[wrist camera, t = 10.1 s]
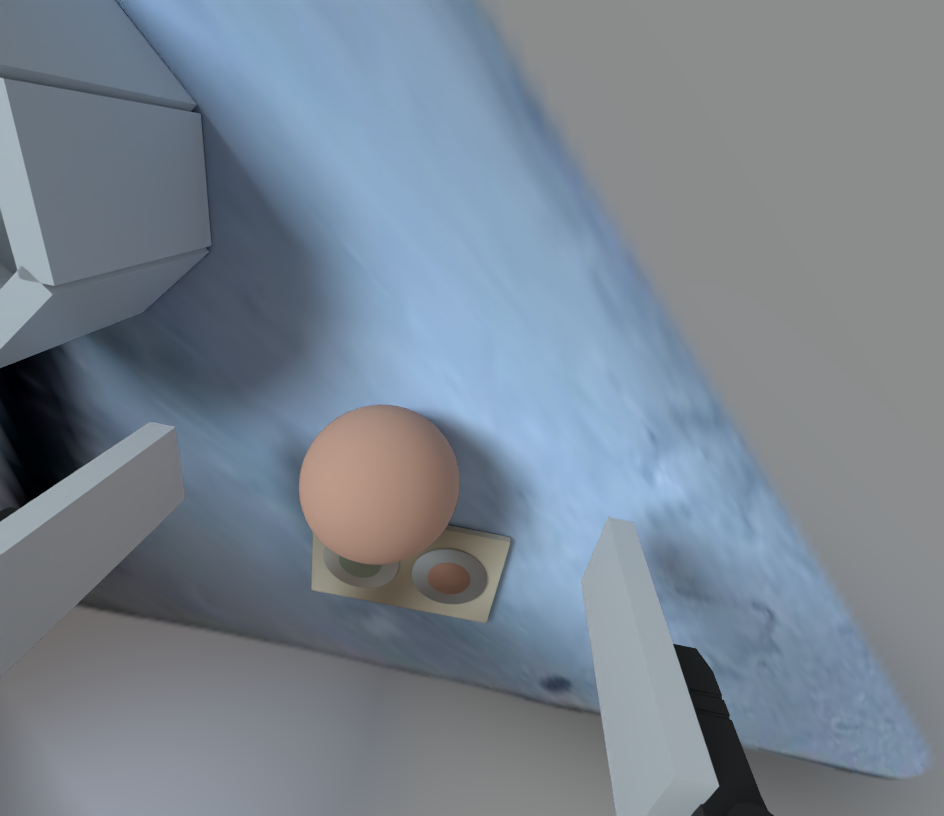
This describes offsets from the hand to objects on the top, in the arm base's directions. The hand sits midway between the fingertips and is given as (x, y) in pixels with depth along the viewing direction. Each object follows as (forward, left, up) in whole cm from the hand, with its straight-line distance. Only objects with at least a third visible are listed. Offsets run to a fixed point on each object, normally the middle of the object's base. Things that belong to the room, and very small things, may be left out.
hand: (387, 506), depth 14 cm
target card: (+1, -6, -3) cm, 7 cm away
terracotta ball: (0, 0, -3) cm, 3 cm away
